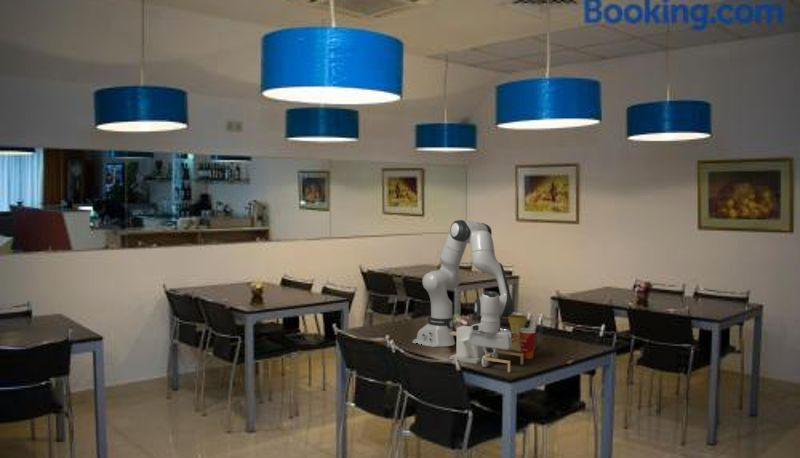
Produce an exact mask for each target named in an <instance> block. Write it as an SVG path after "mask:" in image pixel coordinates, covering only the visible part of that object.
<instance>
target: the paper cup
mask: <svg viewBox="0 0 800 458" xmlns="http://www.w3.org/2000/svg"><path fill="white" fill-rule="evenodd" d="M519 332H520V345H521V352H520V353H521V354H523V360H532V359H533V358H534V353H535V352H534V351H535V349H534V342H535V336H536V330H535V328H534V327H533V328H532V327H524V328H520V331H519Z"/></svg>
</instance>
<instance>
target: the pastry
mask: <svg viewBox="0 0 800 458" xmlns="http://www.w3.org/2000/svg"><path fill="white" fill-rule="evenodd" d="M511 341H512V347H511V348H510V349H509V350H511V351H515V352H517V353H518V352H519V353H521V345H520V332H515V333H514V334H512V337H511ZM536 348H537V347H536V342H535V341H534V350H536Z"/></svg>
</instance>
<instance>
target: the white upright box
mask: <svg viewBox="0 0 800 458" xmlns="http://www.w3.org/2000/svg"><path fill="white" fill-rule="evenodd" d="M470 331H471V326H469V325H461V326H459V327H456V331H454V330H453V332H451V333H450V335H453V336H456V345H455V346H456V353H454V354H451V355H450V356H449V357H448V358H449V360H450V359H453V358H457V359H458V360H459V361H458V362H463V363H469V364H478V363H480V362H482V357H483V356H484V355H485V352H484V350H483V347H482V346H474V345H470V344H469V334H470ZM450 361H451V360H450Z"/></svg>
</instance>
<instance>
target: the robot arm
mask: <svg viewBox="0 0 800 458" xmlns="http://www.w3.org/2000/svg"><path fill="white" fill-rule="evenodd" d="M492 234H493V233H492V228H491V226H490V225H489V224H486V223H485V222H484V223H483V222H482V223H481V222H478V221H474V220H463V219H458V220H454V221H453V222H452V224H451V225H450V228H449V232H448V234H447V236H446V238H445V241H444V243H443V245H442V249H441V252H440V254H439V261H440V263H441V264H440V268H439V269H438V270H437V269H436V270H432V271H429V272H427V273H426V274H424V275H423V277H422V279H421V280H422V281H421V282H422V287H423V288H424V289H425V290H426V292H427V294H428V296H429V299H430V316H429V317H427V318H426V321H428V322H427V323H426V324H425V325H423V327H421V328H420V329H419V330H418V331H417V335H416V338H415V339H413V340H412V344H416V343H418V344H417V345H421V344H422V345H421V346H427V347H432V348H437V347H450V346H454V345H455V344H456V342H455V337H454V335H450V333H451V332H453V331H454V330H453V327H454V318H453V302H452V300H451V299H450V298H449V296H448V290H449V291H450V290H452V289H455V288H456V287H458V286H459V285H460V283H461V280H462V279H461V278H462V277H461V274H460V265H461V262H462V259H463V256H464V253H465V250H466V247H467V245H468V244H469V245H470V246H471V252H470V253H471V262H472V264H473V266H474V267H475V268H476V269H477V270H478V271H480V272H482V273H485V274H488V275H490V276H492V277H494V279H495V280H496V281H497V286H498V290H499V293H498V292H497V291H493V290H485V291H484V292H482V293H481V296H478V297H477V298H476V299H475V300H474V310H473V311H474V313H475V314H476V315H477V316H479V317H481V318H480V322H477V323H475V324H474V323H473V324H472V325H471V326H470V327H471V331H470V334H469V344H470V345H474V346H482V347H483V350H484V355H485V356H486V355H487V354H489V353H491V352H489V351H488V348H489V349H490V348H491V349H492V352H493V353H491V357H493V358H494V357H495V353H496V351H497V350H505V351H508V350H511V349H510V348H511V347H512V341H511V339H512V337H513V334H512V333H511V329H510V328H502V327H501V318H508V317H509V316H510V315H513V313H514V311H515V305H514V301H513V298H512V294H511V292H510V287H509V284H508V280H507V276H506V271H505V269H504V266H503V264H502V263H500V262H499V261H498V259H497V257H496V254H495V246H494V241H493V237H492ZM499 294H500V295H499ZM500 317H501V318H500Z"/></svg>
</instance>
